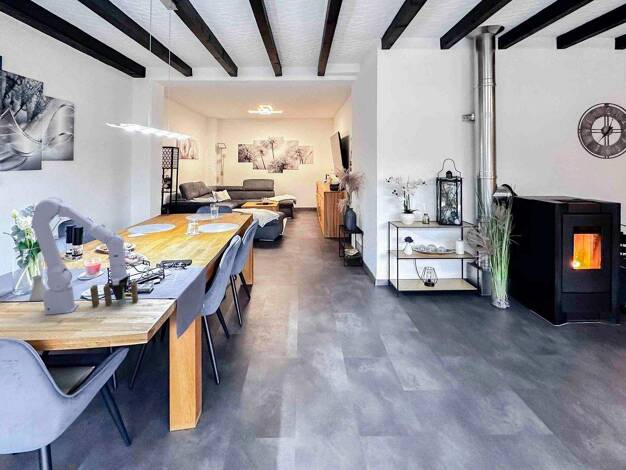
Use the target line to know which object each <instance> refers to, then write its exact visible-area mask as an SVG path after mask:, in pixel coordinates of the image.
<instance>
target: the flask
mask: <svg viewBox="0 0 626 470" xmlns="http://www.w3.org/2000/svg"><path fill="white" fill-rule="evenodd" d="M42 277H43V276H42V274H41V275H39V274H37V275H33V276H32V277H31V278H32V279H33V285H32V289H31V292H30V296H29V301H32V302H42V301H43V294H44V291H45V290H48V289H47V288H46V286H45V284H44V283H43V280H42V279H43V278H42Z"/></svg>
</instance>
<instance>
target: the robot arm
mask: <svg viewBox="0 0 626 470" xmlns="http://www.w3.org/2000/svg"><path fill="white" fill-rule="evenodd" d="M56 216H57V217H58V218H69V219H70V220H72V221H73V222H75V223H77V224H79V226H81V227H83V228H85V229H87V232H88V235H90V236H91V237H92V238H94V239H96V240H97V241H99V242H101V243H102V244H104V245H105V247H106V249H107V250H108V260H109V261H108V262H109V269H110V270H109V271H110V279H111V281H112V282H110V283H108V284H109V287H110V289H111V292H113V295H114V298H115V300H116V301H119V300H122V298H123V288H124V294H126V293H127V286H128V281H129V278H130V275H131V273H127V265H126V254H125V248H124V244H125V240H124V239H125V238H124V237H123V236H122V235H121V234H119V233H117V232H116V231H112V230H111V229H109V228H108V227H106V223H101V222H93V221H92V220H91V219H89V218H88V217H86V216H85V215H84V214H83V213H82V212H80V211H79V210H78V209H75V207H74V206H72V205H70V204H69V203H68V202H65V201H63V200H62V199H61V198H59V197H50V198H48V199H44V200H41V201H40V202H39V203H37V205H36V206H35V207H34V212H33V215H32V219H31V227H32V229H33V231H34V234H35V237H36V240H37V243H38V246H39V248H40V251H41V254H42V257H43V258H44V262H45V265H46V267H47V268H46V276H47V282H46V283H47V287H48V288H49V289H47V290H45V291H44V294H43V300H42V302H43V306H44V307H43V308H44V315H45V316H47V315H58V314H67V313H73V312H74V311H75V310H76V309H77V307H78V306H79V303H75V297H74V296H75V295H74V291H73V290H74V289H73V284H72V283H71V281H72V280H73V274H72V272H71V271H70V270H69V269H68V268H67V266H66V264H65V263H64V261H63V260H62V257H61V254H60V251H59V248H58V245H57V242H56V240H55V239H56V238H55V237H54V233H53V231H52V229H51V226H50V223H51V222H52V221H53V219H54V218H55V217H56Z"/></svg>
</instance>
